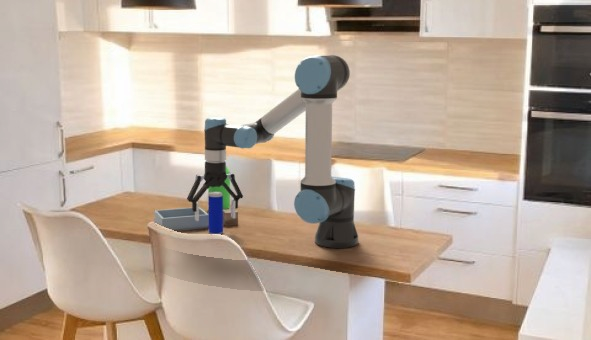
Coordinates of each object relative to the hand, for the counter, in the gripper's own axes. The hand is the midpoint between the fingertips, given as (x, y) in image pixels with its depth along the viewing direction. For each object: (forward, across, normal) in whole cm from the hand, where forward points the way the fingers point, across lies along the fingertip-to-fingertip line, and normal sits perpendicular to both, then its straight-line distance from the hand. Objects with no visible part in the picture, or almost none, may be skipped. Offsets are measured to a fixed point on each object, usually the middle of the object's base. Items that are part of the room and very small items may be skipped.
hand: (215, 218), depth 270 cm
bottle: (+6, -12, -36) cm, 38 cm away
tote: (+6, +9, -15) cm, 18 cm away
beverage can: (+6, 0, 0) cm, 6 cm away
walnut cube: (+6, -9, -12) cm, 16 cm away
